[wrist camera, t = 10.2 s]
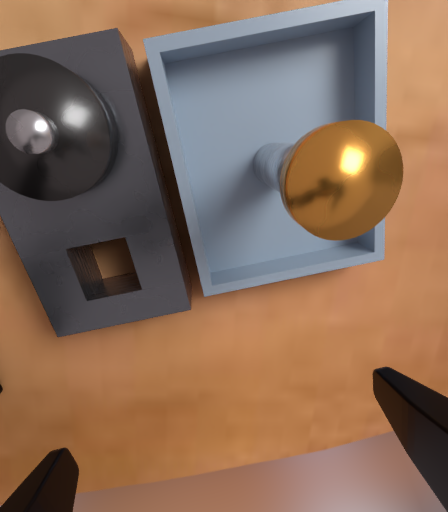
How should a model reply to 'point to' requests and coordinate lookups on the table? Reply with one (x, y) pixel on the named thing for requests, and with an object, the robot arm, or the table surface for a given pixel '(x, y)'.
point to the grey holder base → (86, 182)
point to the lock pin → (335, 177)
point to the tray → (265, 130)
